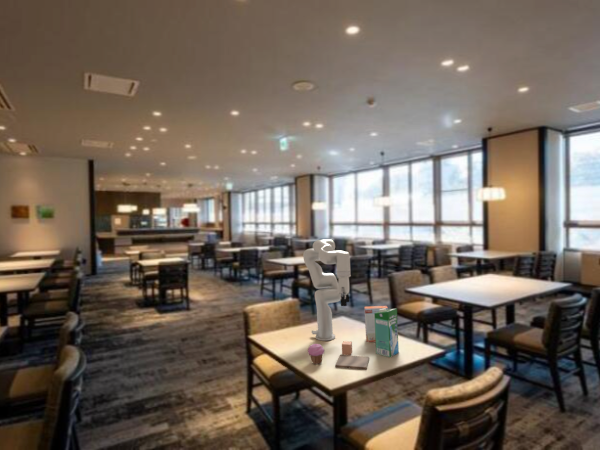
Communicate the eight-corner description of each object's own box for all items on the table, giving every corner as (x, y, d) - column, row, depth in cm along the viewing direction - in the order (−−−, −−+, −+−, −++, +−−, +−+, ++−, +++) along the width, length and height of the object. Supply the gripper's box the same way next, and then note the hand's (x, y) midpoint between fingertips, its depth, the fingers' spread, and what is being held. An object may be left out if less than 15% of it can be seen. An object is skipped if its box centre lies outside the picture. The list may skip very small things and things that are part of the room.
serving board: (335, 367, 185) (335, 364, 185) (340, 356, 198) (340, 354, 198) (366, 369, 180) (366, 367, 180) (369, 358, 194) (369, 356, 194)
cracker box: (388, 338, 224) (386, 305, 224) (389, 342, 218) (388, 307, 218) (365, 338, 226) (364, 305, 225) (366, 342, 220) (365, 308, 219)
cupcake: (327, 364, 189) (326, 345, 189) (311, 367, 187) (310, 348, 186) (321, 358, 198) (320, 340, 197) (306, 361, 195) (305, 342, 195)
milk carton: (384, 348, 207) (382, 305, 207) (398, 352, 201) (396, 308, 200) (376, 353, 201) (374, 309, 201) (390, 357, 194) (388, 311, 194)
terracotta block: (342, 354, 202) (341, 344, 202) (343, 351, 206) (343, 341, 206) (351, 355, 200) (350, 344, 200) (352, 352, 205) (351, 341, 205)
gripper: (339, 271, 212) (341, 300, 212) (334, 276, 195) (335, 307, 196) (352, 271, 210) (353, 300, 210) (348, 276, 193) (349, 307, 193)
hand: (345, 303), depth 203 cm, fingers open, 9 cm apart
